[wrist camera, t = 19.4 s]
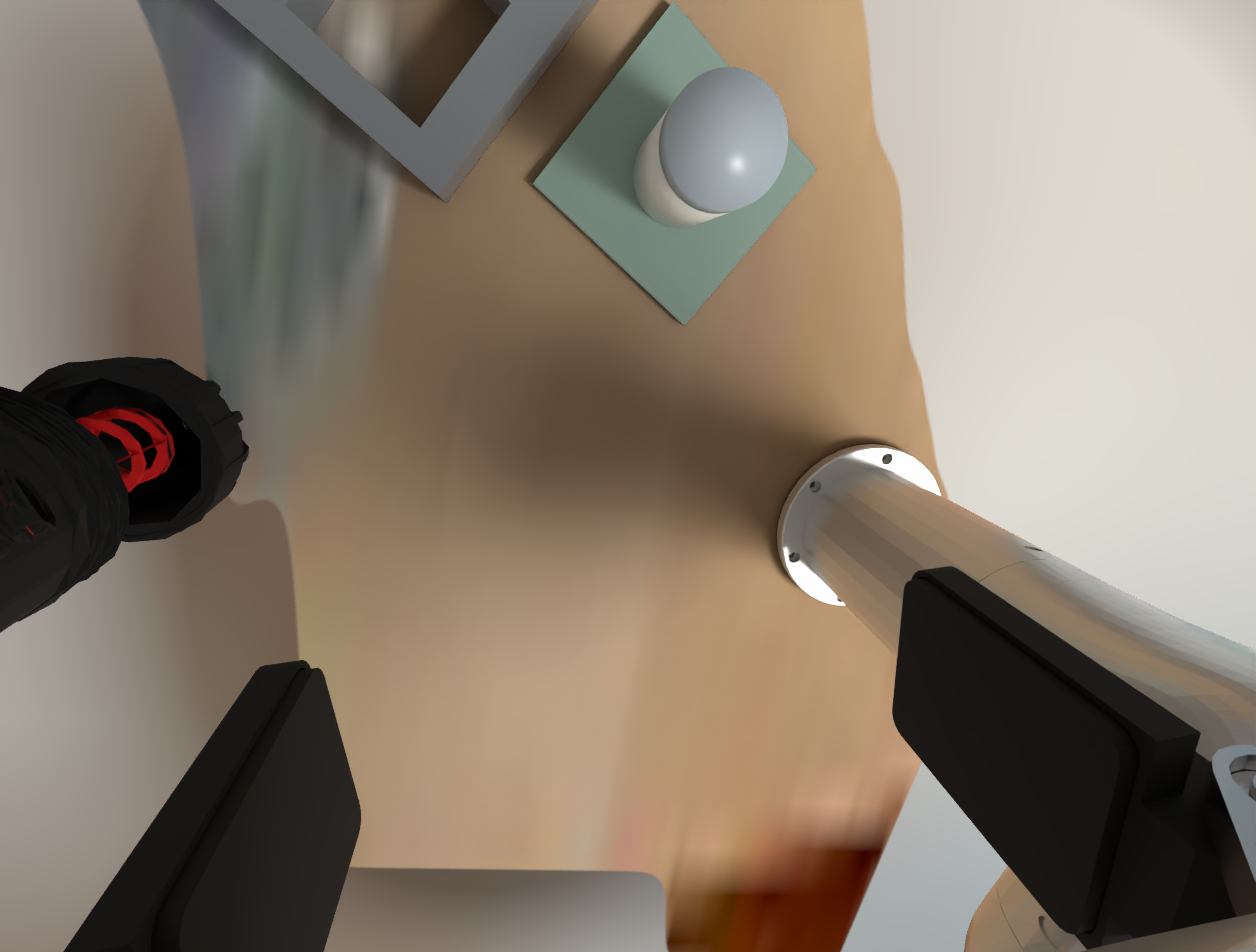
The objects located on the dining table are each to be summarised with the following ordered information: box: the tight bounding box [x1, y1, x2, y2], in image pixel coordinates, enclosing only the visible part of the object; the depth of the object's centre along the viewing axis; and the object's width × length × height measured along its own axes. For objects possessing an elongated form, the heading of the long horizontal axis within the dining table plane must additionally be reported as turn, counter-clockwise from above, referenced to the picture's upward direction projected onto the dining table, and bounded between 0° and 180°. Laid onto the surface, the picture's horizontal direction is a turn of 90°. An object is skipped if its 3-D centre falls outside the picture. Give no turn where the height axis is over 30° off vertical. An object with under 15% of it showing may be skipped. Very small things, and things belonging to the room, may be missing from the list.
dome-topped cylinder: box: [633, 67, 788, 229], centre depth 31 cm, size 6×6×9 cm
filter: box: [0, 357, 249, 632], centre depth 21 cm, size 14×9×30 cm
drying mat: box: [533, 1, 817, 326], centre depth 35 cm, size 12×12×1 cm
